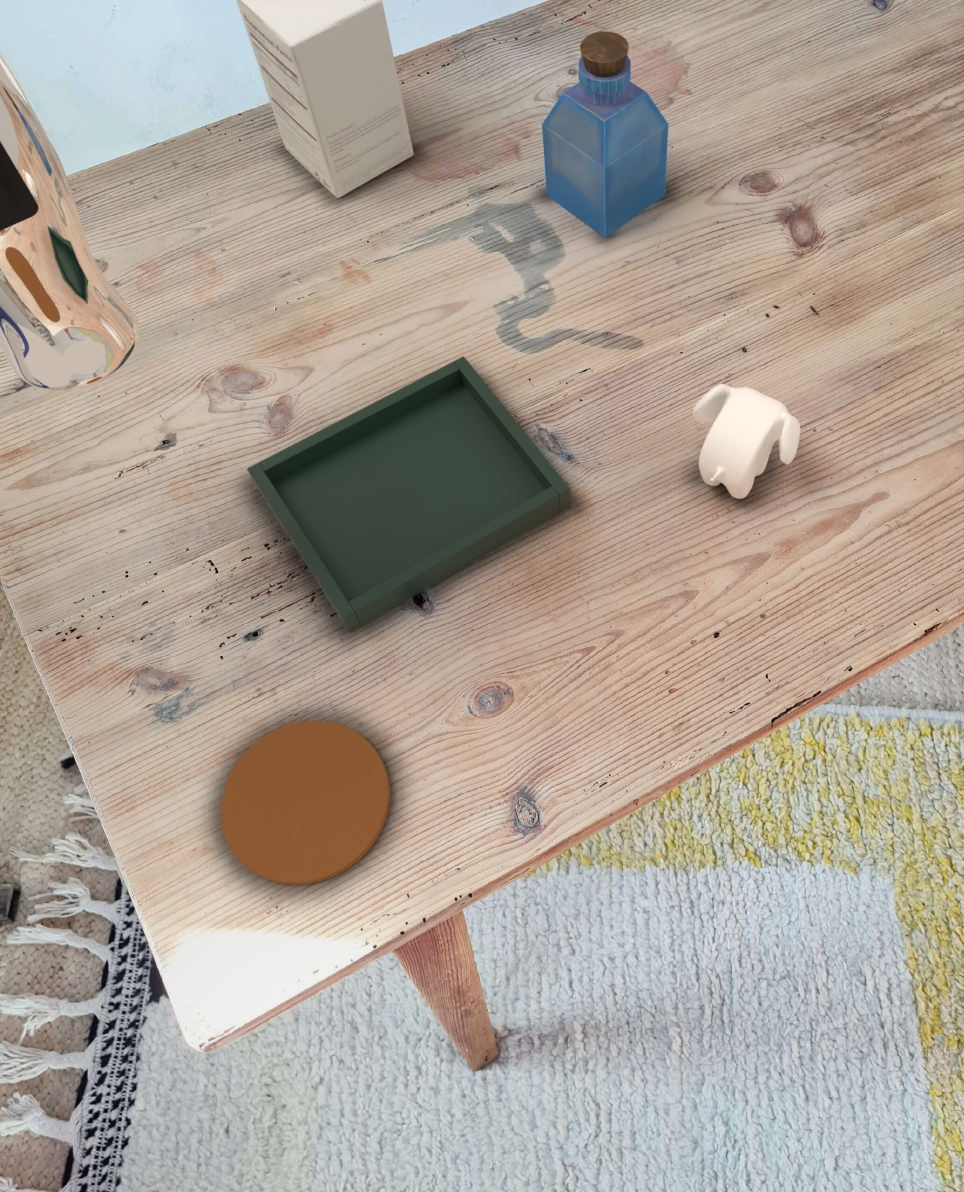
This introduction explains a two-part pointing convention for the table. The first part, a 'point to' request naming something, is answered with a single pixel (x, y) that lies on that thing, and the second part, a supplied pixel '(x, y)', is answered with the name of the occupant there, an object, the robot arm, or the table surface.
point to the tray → (408, 491)
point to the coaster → (305, 802)
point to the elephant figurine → (742, 436)
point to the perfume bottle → (605, 140)
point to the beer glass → (53, 269)
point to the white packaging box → (331, 86)
